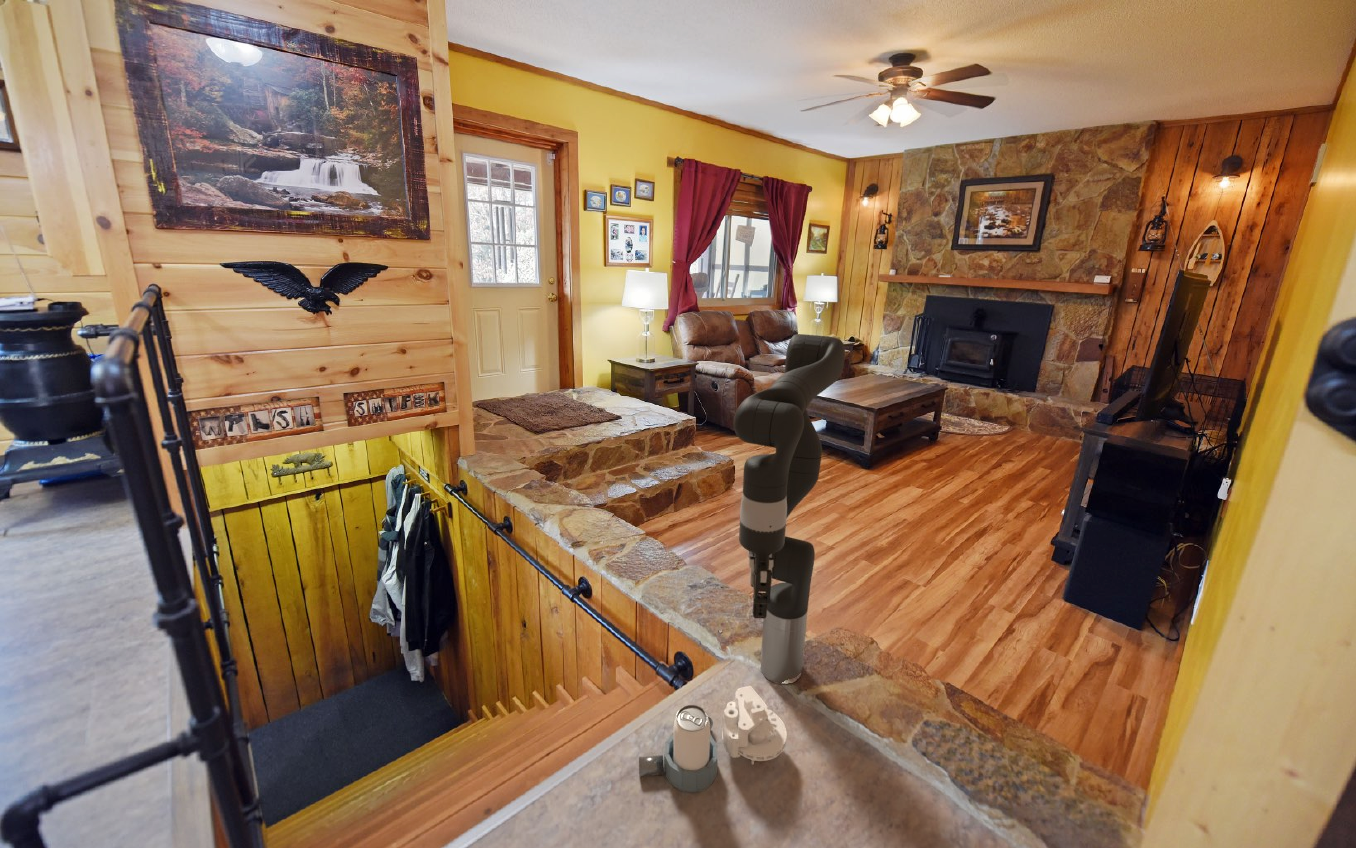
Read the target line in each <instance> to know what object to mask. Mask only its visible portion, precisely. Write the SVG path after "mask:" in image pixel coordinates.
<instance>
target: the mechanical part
mask: <svg viewBox="0 0 1356 848" xmlns="http://www.w3.org/2000/svg"><path fill="white" fill-rule="evenodd" d="M734 696H735V697H734V701H728V702H727V703H726V707H725V708H724V710H723V717H722V726H721V727H722V729H721V738H722V743H723V745H724V746H723V747H724V749H725V751H726V752H727V754H728V755H729V756H731V757H732V758H740V757H741V756H742V757H744V758H745V759H748V760H751V765H755V762H764V761H766V762H767V761H770V760H773V759H775V758H777V757H778V756H779V755H781V754H782V753H783V751H784V749H785V748H786V744H787V737H788V736H787V729H786V725H785V723H784V722H783V720H782V719H781V718H780V716H779V715H777V713H775V712H774V711H773V710H771V709H768V705H767V704H766V702H765V701H764V700H763V699H762V698H761V696H760V695H759V694H758V693H757V691H755V689H754V688H753V687H752V686H751V685H746V686H742V687H739V688H737V690H736V691H735V693H734Z"/></svg>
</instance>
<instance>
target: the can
mask: <svg viewBox="0 0 1356 848" xmlns="http://www.w3.org/2000/svg"><path fill="white" fill-rule="evenodd" d="M708 717H709V716H708V713H707V712H706V710H705V709H704V708H703V707H701V706H699V705H697V704H687V705H684V706H682V707H681V708H680V709H678V711H677V713H676V715H675V718H674V721H673V732H674V764H675V765H677V766H679V767H680V768H682V769H683V770H695V771H696V770H698V769H701V768H703V767H705V766H707V765H708V763H709V750H710V735H711V731H710V722H709V719H708Z"/></svg>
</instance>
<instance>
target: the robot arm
mask: <svg viewBox="0 0 1356 848" xmlns="http://www.w3.org/2000/svg"><path fill="white" fill-rule="evenodd" d="M787 345H788V346H787V349H786V354H785V361H784V362H785V365H784V373H783V374H782V375H780V376H779V377H778V378H777V379H776V380H774V382H773V383H772V384H771V385H770V386H769V388H764V389H763V390H760V391H757V392H755V393H753V394H751V395H750V396H748V397H746V398H744V400H742V402H741V403H740V405H739V406H738V407H737V409H736V411H735V413H734V417H733V430H734V432H735V434H736V436H737V438H738V439H740V440H741V441H742V442H744V443H746V444H752V445H757V446H763V447H769V448H774V449H775V453H769V454H767V453H766V454H756V455H753V456H750V457H748V458H747V459H746V460H745V462H744V466H743V483H742V495H741V501H740V511H739V512H740V513H739V532H738V533H739V535H738V541H739V544H740V545H741V546H742V547H743V548H744V549H745V550H746V551H747V552H748V566H749V568H750V577H749V578H750V586H751V587H752V588H753V594H752V599H753V602H752V603H753V604H752V605H753V607H752V618H755V619H763V620H762V621H763V625H762V637H761V639H762V640H761V653H760V664H761V667H760V671H761V670H762V671H761V673H762V674H763V676H764V677H765V678H766V679H767V680H769V681H770V682H773V683H775V684H778V685H780V684H779V683H782V682H784V681H785V680H788V679H792V678H795V677H797V676H798V675H799V674H800V673H801V670H802V671H803V662H804V661H803V660H804V652H805V643H806V642H805V641H806V631H807V623H808V621H807V619H808V610H809V601H810V590H811V583H812V576H813V572H814V571H813V570H814V567H815V565H814V564H815V557H816V556H815V553H816V551H815V547H814V545H813V544H812V543H811V542H809V541H807V540H802V539H798V538H794V537H790V536H786V528H787V519H788V518H789V516H791V515H790V514H791V513H792V511H794V509H795V508H796V507H797V506H798V505H799V504H800V503H801V502H802V500H804V499H805V497H807V495H808V494H809V493H810V492H811V491H812V489H813V488H814V487H815V486H816V483H817V482H818V480H819V478H820V477H819V476H820V470H821V464H822V463H821V462H822V457H823V456H822V455H823V447H822V441H821V439H820V437H819V434H818V432H817V430H816V427H815V426H814V424H813V422H812V420H811V418H810V416H809V414H808V411H807V408H808V407H809V406H810V404H811V402H812V401H813V400H814V399H815V398H816V397H817V396H819V395H820V394H821V393H823V392H824V391H825V390H827V389H828V388H829V387H831V386H832V385H833V384H835V383H836V382H837V381H838V379H839V378H840V376H841V375H842V373H843V371H844V370H843V369H844V366H845V359H846V347H845V344H844V342H843V341H842V339H839V338H838V337H833V336H825V335H817V334H816V335H814V334H806V333H805V334H803V333H802V334H800V333H799V334H798V333H796V334H793V336H792V337H791V338H790V340H789V341H788V344H787ZM773 580H776V581H779V582H778V583H776V584H775V583H774V584H773ZM801 674H802V673H801Z"/></svg>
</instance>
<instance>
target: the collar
mask: <svg viewBox="0 0 1356 848" xmlns="http://www.w3.org/2000/svg"><path fill="white" fill-rule="evenodd" d="M663 752H664V753H663V764H664V775H665V777H666V779H667V782H668V783H669V784H670V785H671V786H672V787H673V788H674V789H676V790H678V791H680V792H683V793H685V794H686V793H687V794H696V793H701V792H703V791H705V790H706V789H708V788H709V787H710V786H711V785H712V784H713V783H714V781H715V779H716V777H717V773H718V744H717V742H716V740H714V738H713V736H712V734H710V750H709V763H708V765H707V766H705V767H703V768H701V769H698V770H696V771H695V770H683V769H682V768H680V767H679V766H677V765H675V764H674V731H673V732H672V733H671V735H670V736H669V737H668V739H667V740H666V741H665V743H664V751H663Z"/></svg>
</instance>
